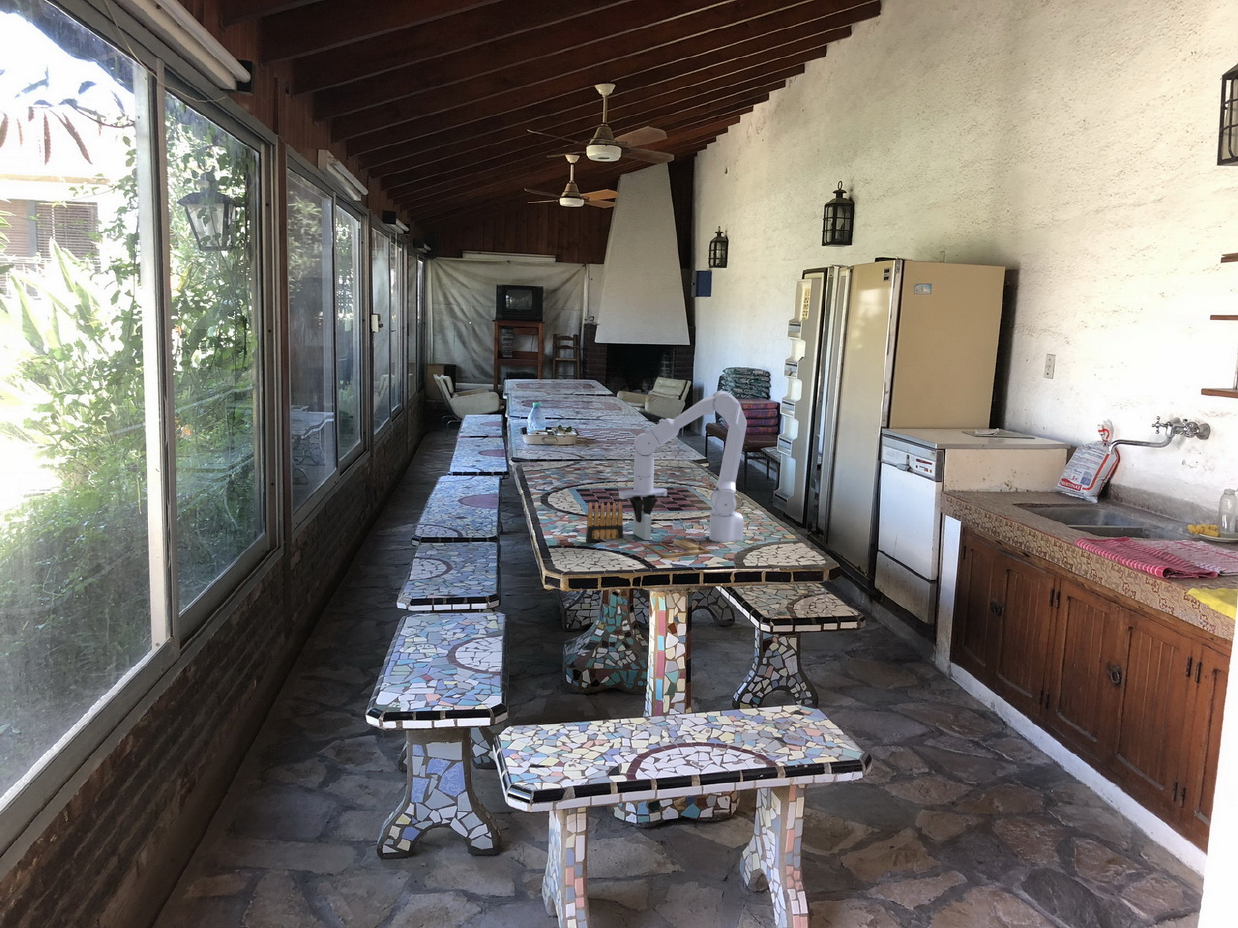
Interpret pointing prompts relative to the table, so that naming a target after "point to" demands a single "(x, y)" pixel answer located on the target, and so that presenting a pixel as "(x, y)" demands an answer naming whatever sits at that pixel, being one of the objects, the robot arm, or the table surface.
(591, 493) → the table surface
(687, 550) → the offcut birch
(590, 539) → the ammunition clip
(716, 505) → the robot arm
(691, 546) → the offcut oak
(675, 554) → the rack
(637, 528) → the block
